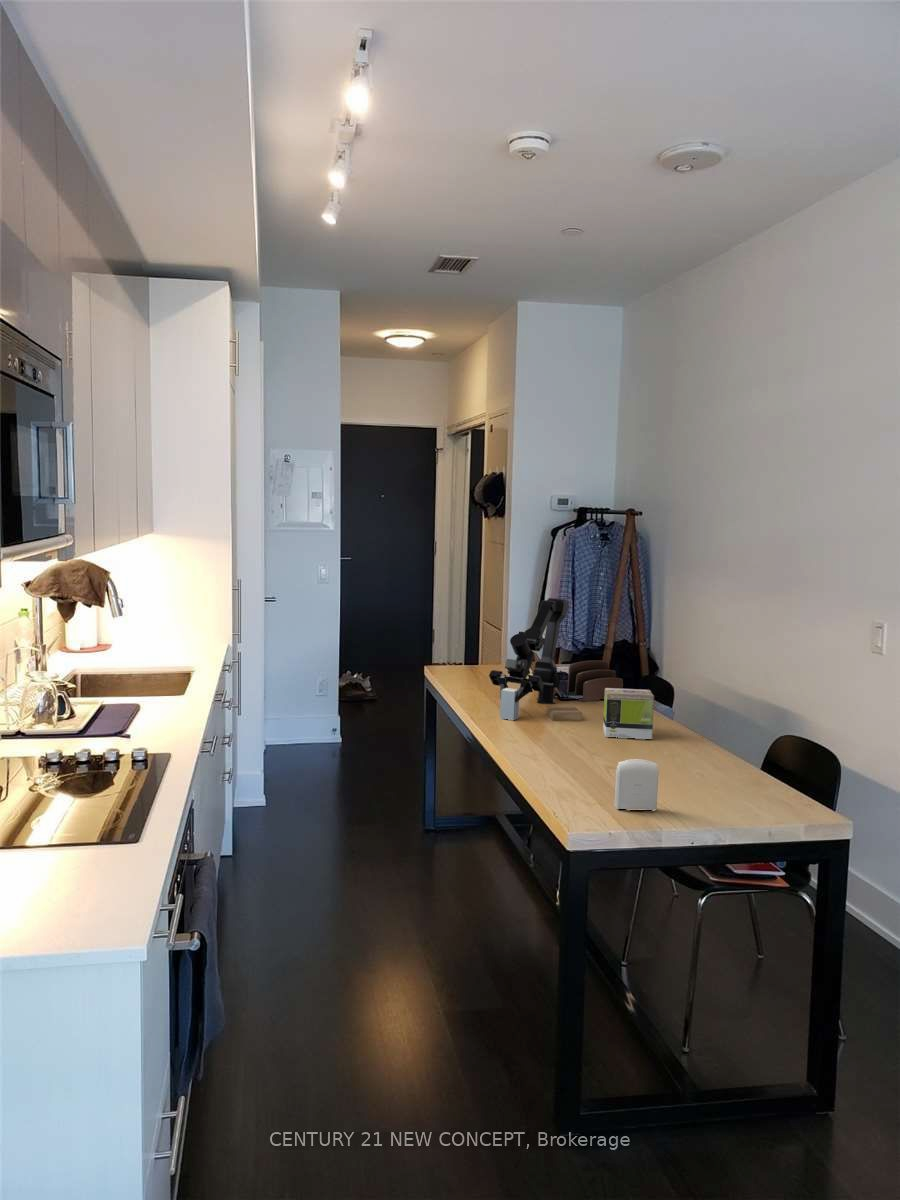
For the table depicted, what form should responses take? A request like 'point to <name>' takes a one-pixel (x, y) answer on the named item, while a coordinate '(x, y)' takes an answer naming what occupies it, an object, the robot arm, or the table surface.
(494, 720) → the table surface
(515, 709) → the tin
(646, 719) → the tea box
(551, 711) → the block
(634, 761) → the photo printer
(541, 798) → the table surface
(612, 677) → the letter holder
